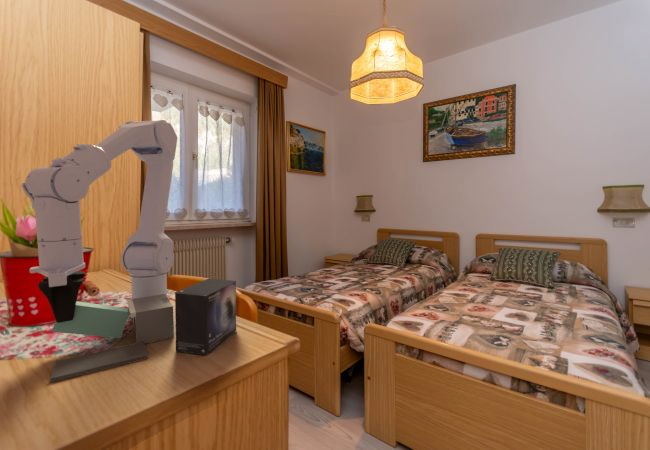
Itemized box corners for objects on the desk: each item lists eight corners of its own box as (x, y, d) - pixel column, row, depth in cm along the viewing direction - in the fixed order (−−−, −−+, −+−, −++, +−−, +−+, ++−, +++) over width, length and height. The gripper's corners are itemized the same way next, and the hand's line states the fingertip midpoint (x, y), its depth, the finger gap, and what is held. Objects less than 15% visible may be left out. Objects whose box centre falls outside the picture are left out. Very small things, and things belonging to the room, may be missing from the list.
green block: (53, 326, 53) (64, 299, 54) (119, 333, 59) (129, 308, 60) (51, 331, 51) (62, 303, 52) (120, 337, 57) (129, 312, 58)
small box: (208, 356, 52) (207, 295, 51) (173, 352, 53) (171, 292, 52) (238, 330, 62) (237, 279, 61) (209, 328, 63) (207, 277, 63)
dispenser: (128, 328, 63) (127, 299, 62) (166, 321, 67) (165, 293, 66) (131, 346, 55) (130, 313, 55) (174, 337, 59) (172, 305, 58)
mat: (56, 364, 49) (55, 360, 49) (143, 344, 56) (143, 341, 56) (50, 382, 44) (50, 378, 44) (147, 358, 51) (147, 354, 51)
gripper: (36, 236, 56) (41, 310, 57) (17, 247, 44) (25, 339, 45) (85, 234, 60) (90, 302, 61) (80, 243, 48) (86, 328, 49)
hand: (66, 318), depth 53 cm, fingers closed on green block, 2 cm apart
